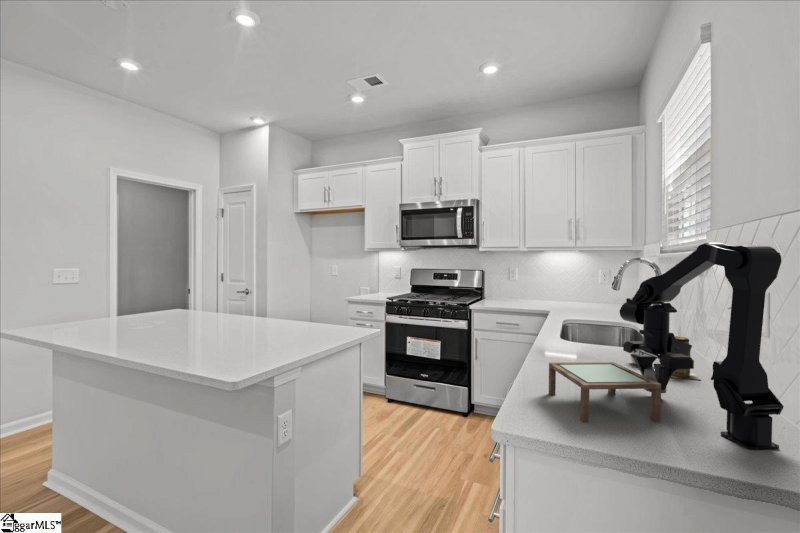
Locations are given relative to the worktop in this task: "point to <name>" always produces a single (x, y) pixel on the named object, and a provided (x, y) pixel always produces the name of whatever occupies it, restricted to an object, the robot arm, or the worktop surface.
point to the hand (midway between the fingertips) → (655, 386)
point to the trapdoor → (601, 373)
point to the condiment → (683, 372)
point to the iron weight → (652, 377)
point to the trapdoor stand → (606, 387)
